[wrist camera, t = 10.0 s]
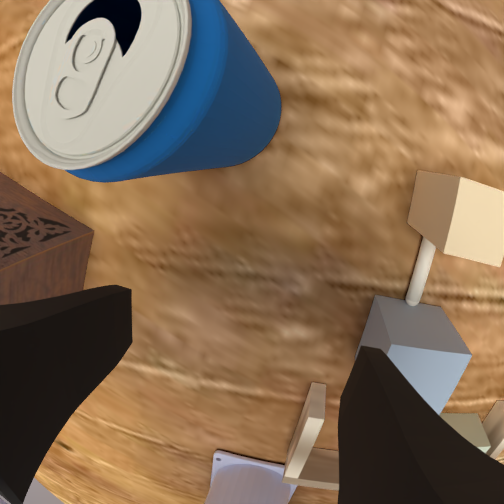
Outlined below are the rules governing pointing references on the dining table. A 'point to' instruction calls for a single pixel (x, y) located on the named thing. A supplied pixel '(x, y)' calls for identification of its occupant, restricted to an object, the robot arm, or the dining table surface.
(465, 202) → the corded block
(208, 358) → the dining table surface
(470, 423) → the plain block
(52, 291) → the tissue box cover
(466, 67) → the dining table surface
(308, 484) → the rack
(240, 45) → the beverage can
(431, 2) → the dining table surface
